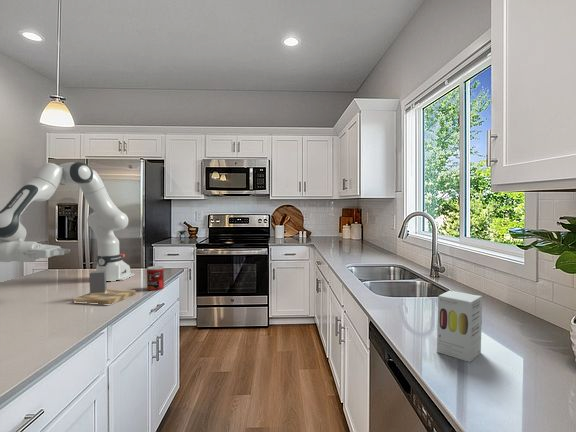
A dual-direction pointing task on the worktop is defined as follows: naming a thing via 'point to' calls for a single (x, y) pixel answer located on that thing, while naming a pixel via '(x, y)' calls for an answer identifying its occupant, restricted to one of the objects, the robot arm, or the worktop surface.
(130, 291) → the oak board
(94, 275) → the block
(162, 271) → the canned food
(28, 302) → the worktop surface
